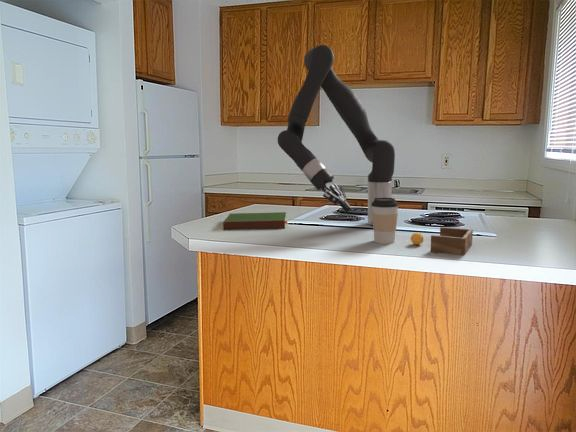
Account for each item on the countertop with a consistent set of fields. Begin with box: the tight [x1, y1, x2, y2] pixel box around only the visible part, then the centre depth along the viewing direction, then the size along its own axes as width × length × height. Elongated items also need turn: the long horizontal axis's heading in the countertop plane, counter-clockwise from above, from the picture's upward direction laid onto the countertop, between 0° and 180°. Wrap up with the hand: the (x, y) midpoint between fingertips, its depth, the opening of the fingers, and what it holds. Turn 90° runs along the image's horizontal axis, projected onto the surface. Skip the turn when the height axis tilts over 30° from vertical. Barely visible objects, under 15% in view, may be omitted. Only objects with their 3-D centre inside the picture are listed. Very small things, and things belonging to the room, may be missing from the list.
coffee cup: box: [371, 197, 400, 245], centre depth 158 cm, size 9×9×15 cm
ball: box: [410, 232, 424, 246], centre depth 154 cm, size 4×4×4 cm
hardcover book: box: [222, 211, 288, 231], centre depth 194 cm, size 25×19×4 cm
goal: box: [430, 226, 474, 256], centre depth 148 cm, size 14×10×5 cm
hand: (349, 210), depth 164 cm, fingers closed
